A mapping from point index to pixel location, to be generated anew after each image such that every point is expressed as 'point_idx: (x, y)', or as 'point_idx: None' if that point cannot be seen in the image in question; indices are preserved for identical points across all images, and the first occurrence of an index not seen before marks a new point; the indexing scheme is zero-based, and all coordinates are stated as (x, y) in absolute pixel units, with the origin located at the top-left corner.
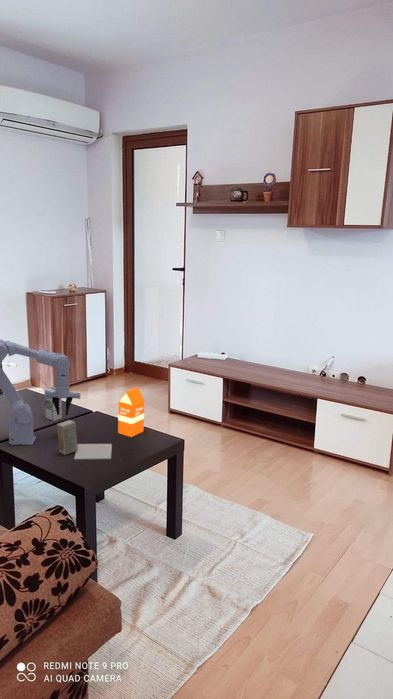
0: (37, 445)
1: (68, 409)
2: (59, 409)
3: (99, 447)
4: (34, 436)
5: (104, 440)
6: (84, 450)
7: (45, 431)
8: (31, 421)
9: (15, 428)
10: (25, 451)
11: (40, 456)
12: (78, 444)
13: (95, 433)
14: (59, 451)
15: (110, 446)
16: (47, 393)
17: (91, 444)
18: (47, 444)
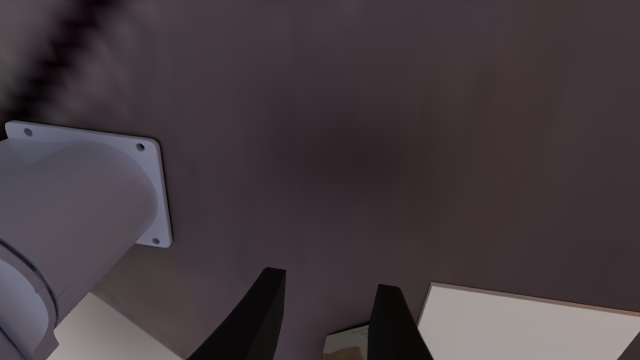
0: (201, 249)
1: (417, 340)
2: (271, 304)
3: (548, 343)
4: (146, 144)
5: (629, 251)
6: (454, 355)
7: (198, 17)
8: (49, 330)
9: None
10: (162, 300)
11: None
12: (435, 291)
13: (622, 117)
14: (326, 340)
15: (620, 343)
16: None
17: (515, 305)
18: (254, 247)
